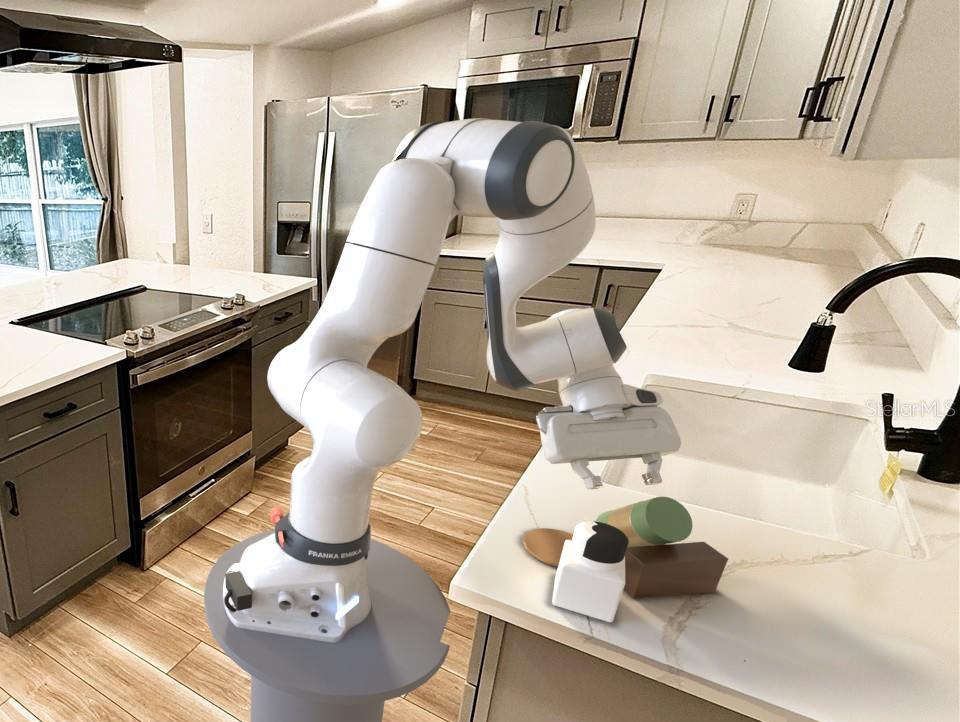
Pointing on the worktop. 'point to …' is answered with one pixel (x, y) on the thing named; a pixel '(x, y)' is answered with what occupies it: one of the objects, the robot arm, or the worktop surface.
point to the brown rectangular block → (672, 569)
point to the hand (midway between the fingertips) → (624, 486)
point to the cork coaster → (546, 544)
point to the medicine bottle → (592, 571)
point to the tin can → (651, 521)
